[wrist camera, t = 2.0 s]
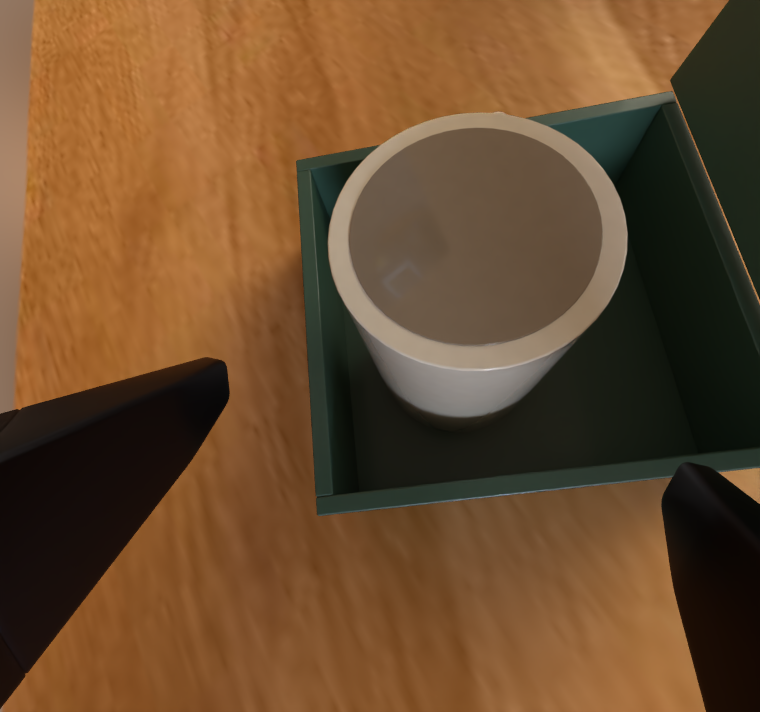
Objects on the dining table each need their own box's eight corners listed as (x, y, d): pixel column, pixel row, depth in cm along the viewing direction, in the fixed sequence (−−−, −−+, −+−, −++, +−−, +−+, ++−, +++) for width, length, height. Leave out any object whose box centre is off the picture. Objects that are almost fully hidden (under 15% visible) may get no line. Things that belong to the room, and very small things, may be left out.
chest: (350, 509, 19) (316, 516, 14) (327, 233, 24) (295, 160, 18) (710, 469, 18) (824, 461, 13) (617, 185, 22) (672, 90, 17)
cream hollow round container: (519, 449, 19) (613, 400, 9) (365, 414, 20) (291, 337, 10) (550, 256, 21) (650, 44, 11) (410, 235, 22) (387, 29, 12)
